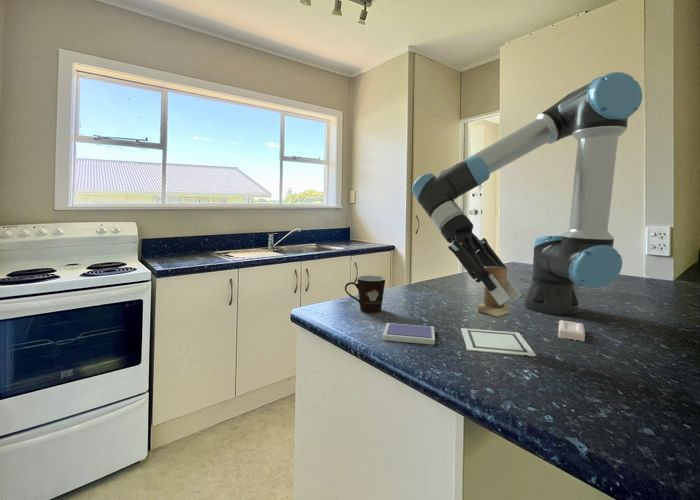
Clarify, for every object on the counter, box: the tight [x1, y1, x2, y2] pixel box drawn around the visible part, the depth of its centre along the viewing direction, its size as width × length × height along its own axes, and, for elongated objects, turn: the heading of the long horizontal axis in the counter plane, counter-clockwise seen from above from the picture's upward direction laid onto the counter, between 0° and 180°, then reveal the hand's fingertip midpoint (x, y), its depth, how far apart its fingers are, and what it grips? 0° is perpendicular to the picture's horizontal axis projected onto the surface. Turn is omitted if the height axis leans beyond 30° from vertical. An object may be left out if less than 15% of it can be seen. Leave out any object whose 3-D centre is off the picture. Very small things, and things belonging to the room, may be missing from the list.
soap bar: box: [557, 319, 586, 342], centre depth 86 cm, size 5×9×2 cm, turn 148°
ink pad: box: [382, 322, 436, 346], centre depth 84 cm, size 12×9×1 cm
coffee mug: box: [344, 274, 386, 314], centre depth 105 cm, size 12×9×10 cm
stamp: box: [477, 266, 511, 319], centre depth 79 cm, size 5×5×11 cm
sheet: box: [460, 327, 537, 357], centre depth 81 cm, size 14×14×1 cm
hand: (510, 299), depth 76 cm, fingers closed on stamp, 4 cm apart
